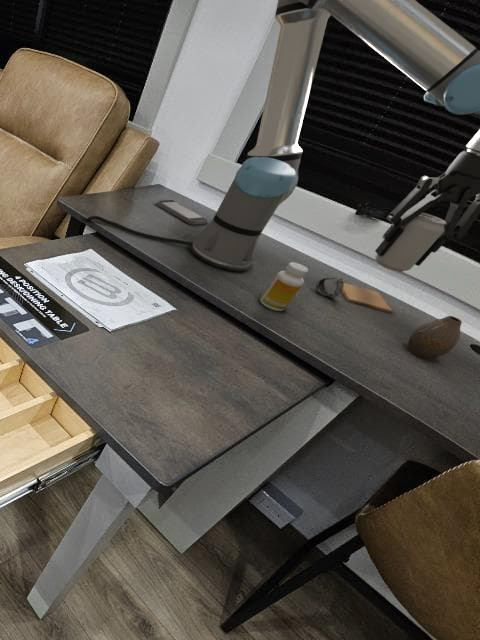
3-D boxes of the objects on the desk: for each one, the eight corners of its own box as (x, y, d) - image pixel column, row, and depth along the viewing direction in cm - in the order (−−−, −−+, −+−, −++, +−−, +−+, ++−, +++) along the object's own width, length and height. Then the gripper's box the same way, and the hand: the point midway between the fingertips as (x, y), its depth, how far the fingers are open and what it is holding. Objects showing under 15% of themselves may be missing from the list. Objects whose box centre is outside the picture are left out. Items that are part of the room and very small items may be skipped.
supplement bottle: (287, 314, 101) (316, 275, 94) (263, 308, 101) (290, 269, 94) (279, 301, 105) (307, 263, 98) (256, 296, 105) (282, 258, 98)
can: (375, 255, 112) (414, 207, 104) (409, 268, 109) (452, 220, 101) (369, 262, 108) (410, 213, 100) (405, 276, 104) (449, 226, 96)
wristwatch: (323, 298, 113) (320, 278, 113) (346, 294, 108) (343, 274, 108) (315, 300, 112) (312, 280, 112) (337, 297, 108) (334, 276, 107)
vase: (438, 354, 98) (475, 321, 92) (438, 367, 93) (476, 333, 88) (402, 338, 100) (435, 305, 95) (400, 350, 96) (434, 316, 90)
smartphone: (193, 221, 133) (156, 200, 142) (191, 224, 133) (155, 204, 142) (209, 219, 136) (172, 199, 145) (207, 223, 137) (171, 203, 146)
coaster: (347, 300, 111) (349, 298, 111) (336, 282, 118) (337, 280, 118) (390, 312, 110) (392, 310, 109) (376, 293, 117) (378, 292, 117)
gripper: (439, 146, 90) (356, 252, 105) (552, 172, 87) (450, 277, 103) (423, 139, 96) (346, 240, 111) (529, 163, 93) (435, 263, 108)
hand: (396, 258), depth 107 cm, fingers closed on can, 7 cm apart
